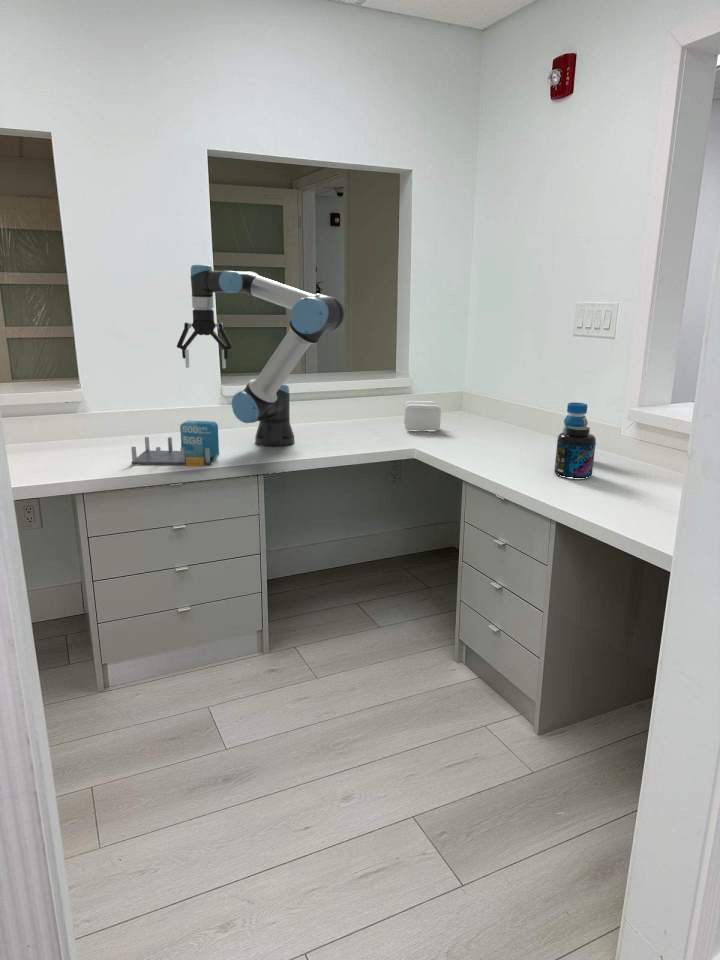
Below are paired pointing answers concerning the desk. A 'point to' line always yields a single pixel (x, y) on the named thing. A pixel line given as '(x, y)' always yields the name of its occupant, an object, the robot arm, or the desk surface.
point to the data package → (199, 438)
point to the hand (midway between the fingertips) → (205, 367)
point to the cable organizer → (422, 415)
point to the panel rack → (169, 456)
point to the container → (575, 452)
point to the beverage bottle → (575, 415)
